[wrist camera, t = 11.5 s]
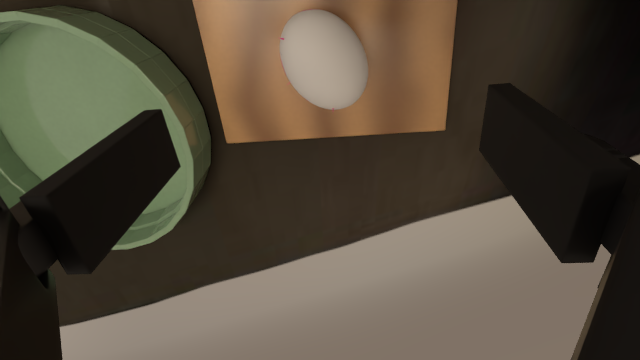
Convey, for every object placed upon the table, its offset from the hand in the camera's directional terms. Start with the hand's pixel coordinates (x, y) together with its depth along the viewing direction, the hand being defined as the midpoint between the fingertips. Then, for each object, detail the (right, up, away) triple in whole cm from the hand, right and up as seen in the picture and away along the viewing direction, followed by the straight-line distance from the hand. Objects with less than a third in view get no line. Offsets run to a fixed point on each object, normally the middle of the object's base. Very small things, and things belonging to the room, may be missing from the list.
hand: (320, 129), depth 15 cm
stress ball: (0, +8, +14) cm, 16 cm away
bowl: (-21, +3, +19) cm, 28 cm away
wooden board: (+1, +8, +15) cm, 17 cm away
